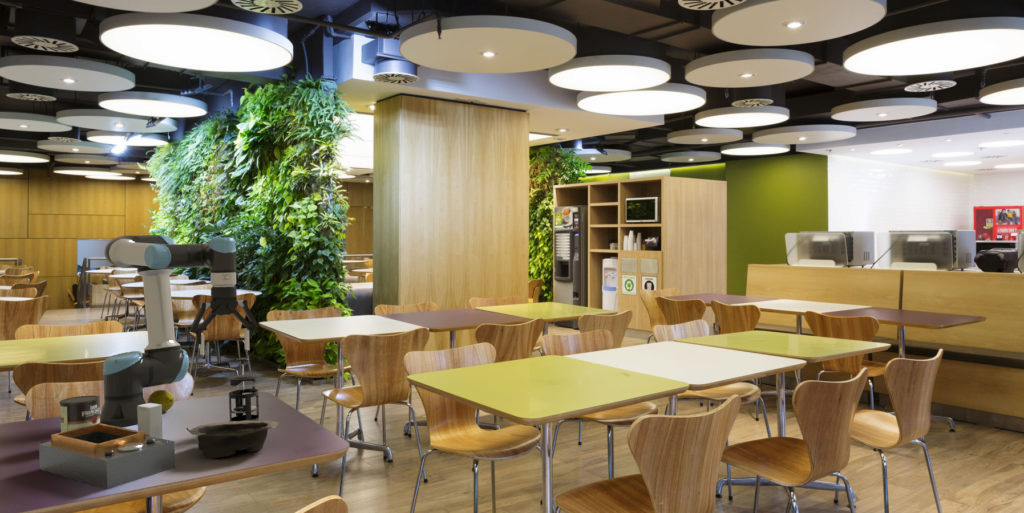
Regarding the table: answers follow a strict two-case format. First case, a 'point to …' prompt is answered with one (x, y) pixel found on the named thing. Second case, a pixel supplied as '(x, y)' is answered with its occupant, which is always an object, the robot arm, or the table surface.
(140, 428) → the skincare box
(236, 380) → the french press
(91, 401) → the coffee can
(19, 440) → the table surface
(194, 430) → the stone bowl
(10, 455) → the table surface
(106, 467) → the grey open box
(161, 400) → the lemon
